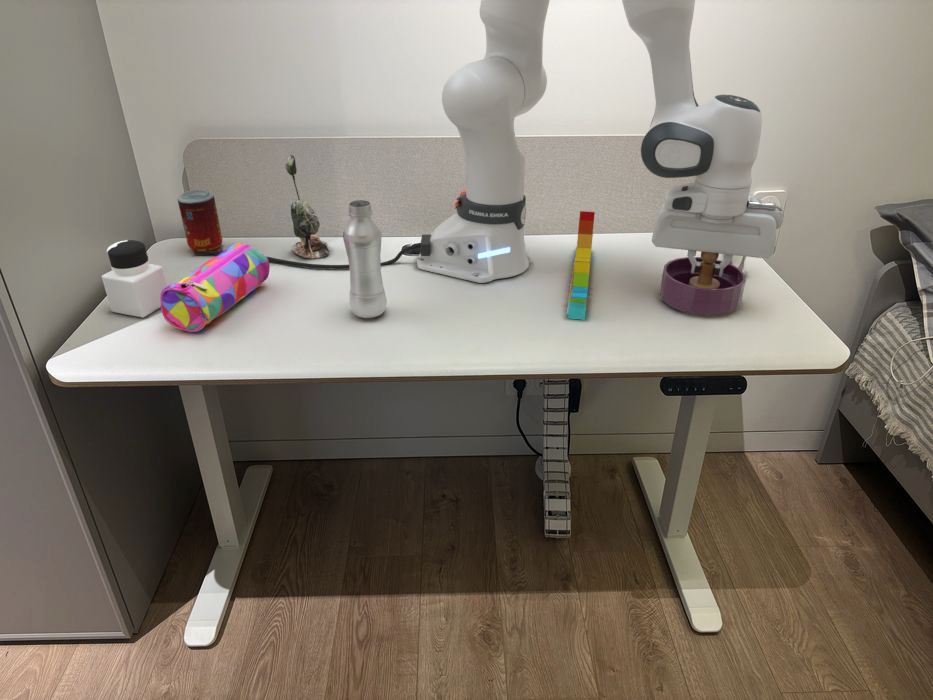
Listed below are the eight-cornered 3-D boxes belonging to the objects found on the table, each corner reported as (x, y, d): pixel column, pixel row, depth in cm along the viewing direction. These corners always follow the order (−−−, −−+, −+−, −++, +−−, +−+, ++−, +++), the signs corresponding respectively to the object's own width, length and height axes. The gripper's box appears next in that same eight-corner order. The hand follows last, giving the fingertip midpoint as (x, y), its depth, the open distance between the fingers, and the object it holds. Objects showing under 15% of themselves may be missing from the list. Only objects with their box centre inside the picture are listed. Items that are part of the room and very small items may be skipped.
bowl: (656, 312, 123) (660, 283, 120) (662, 279, 134) (666, 253, 131) (740, 323, 119) (746, 294, 116) (739, 289, 130) (745, 262, 127)
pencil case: (208, 341, 114) (197, 291, 109) (160, 332, 116) (147, 284, 112) (276, 286, 132) (269, 241, 127) (233, 279, 134) (225, 235, 130)
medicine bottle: (171, 301, 127) (156, 239, 120) (143, 318, 121) (126, 254, 115) (139, 295, 129) (123, 234, 122) (110, 312, 123) (92, 249, 117)
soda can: (188, 246, 149) (176, 190, 143) (222, 241, 151) (212, 186, 145) (189, 258, 143) (177, 200, 137) (225, 253, 145) (214, 196, 139)
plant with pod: (285, 264, 141) (271, 166, 130) (297, 243, 150) (284, 150, 140) (325, 264, 141) (314, 166, 130) (334, 242, 150) (324, 149, 140)
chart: (575, 251, 146) (581, 181, 138) (590, 252, 146) (597, 181, 138) (566, 318, 120) (572, 237, 113) (584, 320, 120) (592, 238, 112)
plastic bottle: (358, 325, 118) (347, 213, 108) (345, 309, 124) (333, 200, 113) (393, 317, 121) (386, 206, 111) (379, 302, 126) (371, 194, 116)
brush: (688, 287, 128) (696, 239, 124) (717, 290, 127) (727, 243, 122) (686, 299, 124) (695, 250, 119) (717, 303, 123) (726, 254, 118)
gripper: (785, 198, 116) (767, 274, 123) (659, 187, 122) (649, 260, 129) (787, 210, 111) (769, 288, 118) (656, 198, 117) (646, 274, 124)
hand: (706, 274), depth 123 cm, fingers closed on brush, 2 cm apart
